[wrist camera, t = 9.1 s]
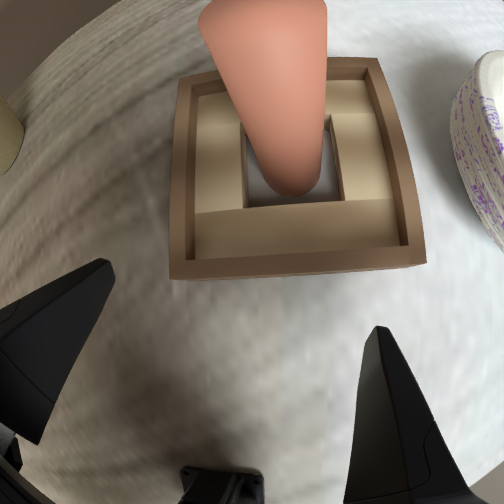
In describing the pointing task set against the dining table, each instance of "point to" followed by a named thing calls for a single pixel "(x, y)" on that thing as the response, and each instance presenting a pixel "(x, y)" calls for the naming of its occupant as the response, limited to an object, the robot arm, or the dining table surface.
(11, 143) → the plant pot
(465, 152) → the white and purple bowl
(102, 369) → the dining table surface
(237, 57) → the peg
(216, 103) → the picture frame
